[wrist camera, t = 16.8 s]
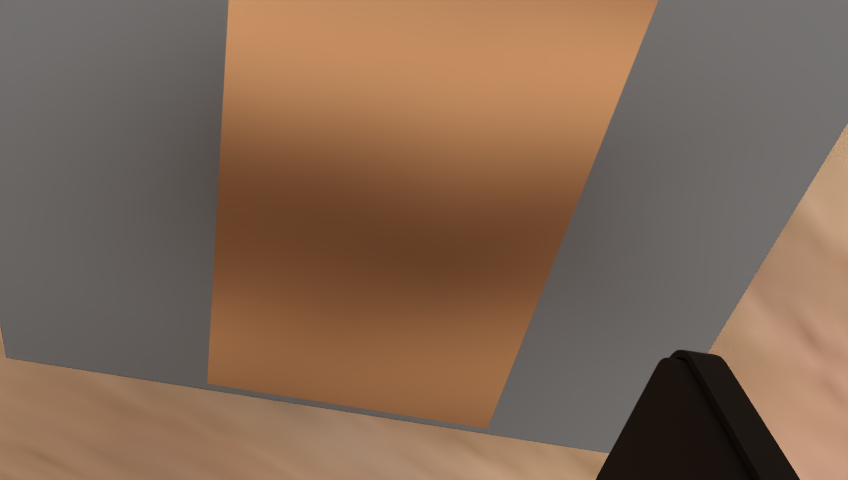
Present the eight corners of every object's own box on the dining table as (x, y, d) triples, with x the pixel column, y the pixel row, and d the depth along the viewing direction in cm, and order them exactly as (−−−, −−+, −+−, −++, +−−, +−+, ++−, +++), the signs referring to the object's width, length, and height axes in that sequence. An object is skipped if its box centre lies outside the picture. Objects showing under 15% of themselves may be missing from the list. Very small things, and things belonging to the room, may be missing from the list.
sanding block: (474, 298, 19) (487, 428, 15) (257, 258, 19) (206, 384, 14) (592, -56, 14) (661, -8, 10) (296, -130, 13) (234, -112, 9)
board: (632, 426, 25) (643, 460, 23) (30, 327, 22) (4, 359, 21) (1051, -306, 13) (1121, -321, 12) (-111, -676, 11) (-188, -749, 9)
